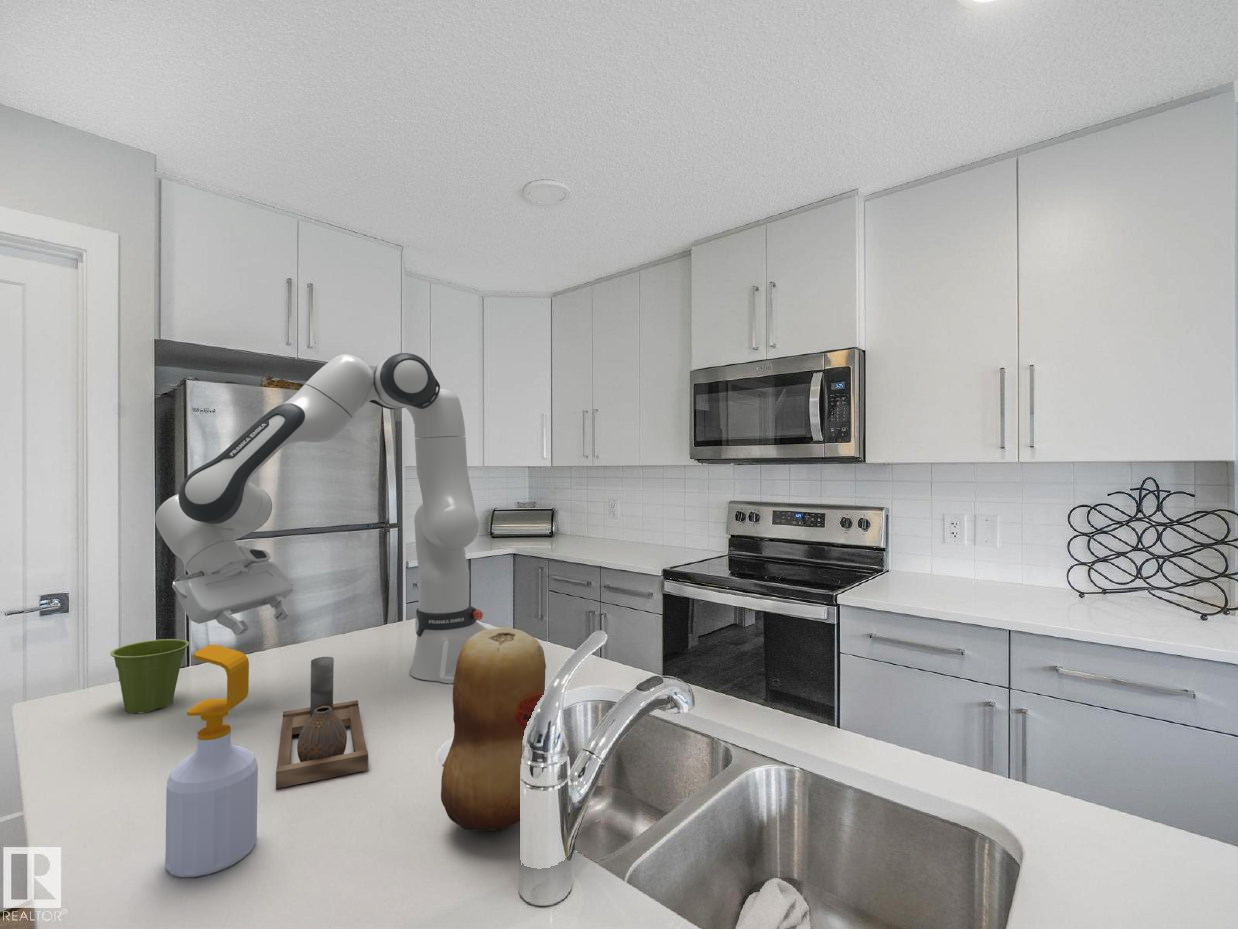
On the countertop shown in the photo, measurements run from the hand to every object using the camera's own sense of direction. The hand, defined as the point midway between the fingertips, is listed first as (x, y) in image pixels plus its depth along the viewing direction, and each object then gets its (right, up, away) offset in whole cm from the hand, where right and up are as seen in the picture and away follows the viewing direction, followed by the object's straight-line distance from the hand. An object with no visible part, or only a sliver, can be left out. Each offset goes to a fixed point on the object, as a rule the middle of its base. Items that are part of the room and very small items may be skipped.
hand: (264, 625), depth 109 cm
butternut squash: (+48, -18, -30) cm, 60 cm away
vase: (+18, -18, -16) cm, 30 cm away
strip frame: (+15, -17, -10) cm, 25 cm away
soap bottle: (+16, -18, -37) cm, 44 cm away
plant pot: (-25, -17, +5) cm, 31 cm away
